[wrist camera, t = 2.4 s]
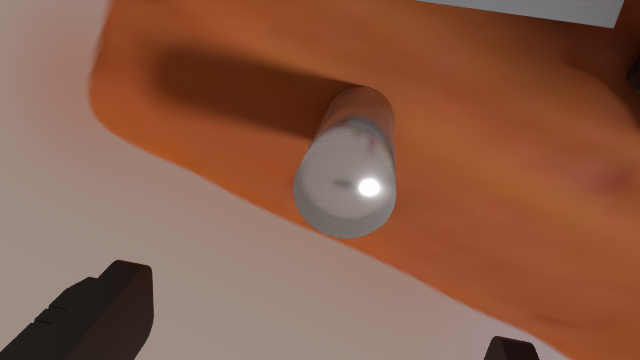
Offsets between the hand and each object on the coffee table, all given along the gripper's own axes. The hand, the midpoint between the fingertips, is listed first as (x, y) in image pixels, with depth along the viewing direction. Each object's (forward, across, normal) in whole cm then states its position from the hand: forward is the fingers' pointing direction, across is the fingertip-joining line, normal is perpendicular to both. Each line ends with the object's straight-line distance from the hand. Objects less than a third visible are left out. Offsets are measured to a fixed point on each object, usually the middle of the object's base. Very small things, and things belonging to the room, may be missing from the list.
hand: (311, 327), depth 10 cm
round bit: (+18, 0, 0) cm, 18 cm away
